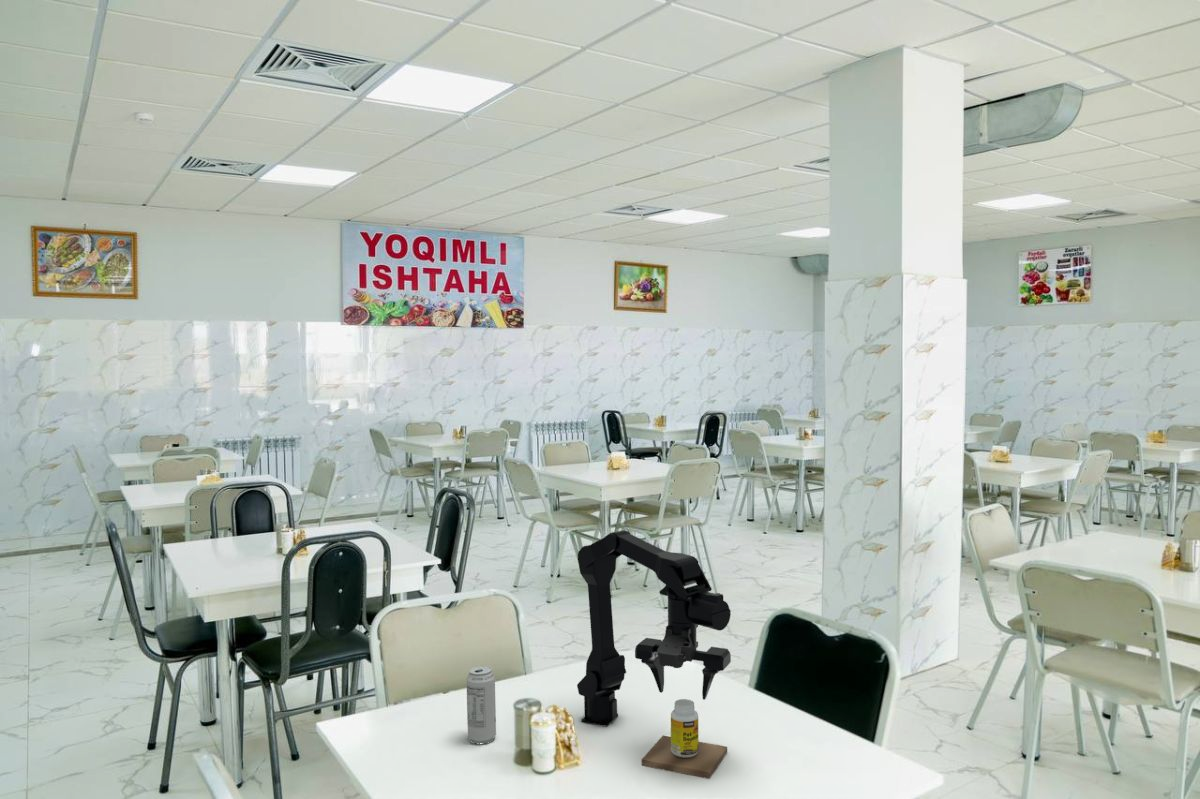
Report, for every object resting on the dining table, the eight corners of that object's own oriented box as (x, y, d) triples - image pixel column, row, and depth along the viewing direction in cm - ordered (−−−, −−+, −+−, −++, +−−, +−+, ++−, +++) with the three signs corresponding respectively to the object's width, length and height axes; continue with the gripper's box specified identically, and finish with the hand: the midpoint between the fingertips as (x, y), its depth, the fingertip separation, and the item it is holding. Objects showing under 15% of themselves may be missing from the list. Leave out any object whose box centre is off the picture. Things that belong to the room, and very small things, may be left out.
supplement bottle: (682, 761, 166) (682, 710, 166) (665, 751, 171) (664, 701, 171) (704, 754, 169) (703, 703, 169) (687, 744, 174) (686, 695, 174)
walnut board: (641, 765, 168) (641, 759, 168) (663, 741, 179) (662, 735, 179) (709, 778, 162) (709, 772, 162) (727, 752, 173) (727, 746, 173)
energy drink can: (502, 738, 181) (500, 669, 181) (480, 748, 177) (478, 677, 176) (484, 730, 185) (482, 663, 185) (462, 739, 181) (460, 670, 180)
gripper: (623, 625, 168) (624, 702, 168) (714, 636, 160) (714, 718, 160) (645, 610, 178) (645, 683, 178) (731, 620, 170) (731, 697, 170)
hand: (682, 695), depth 172 cm, fingers open, 9 cm apart
